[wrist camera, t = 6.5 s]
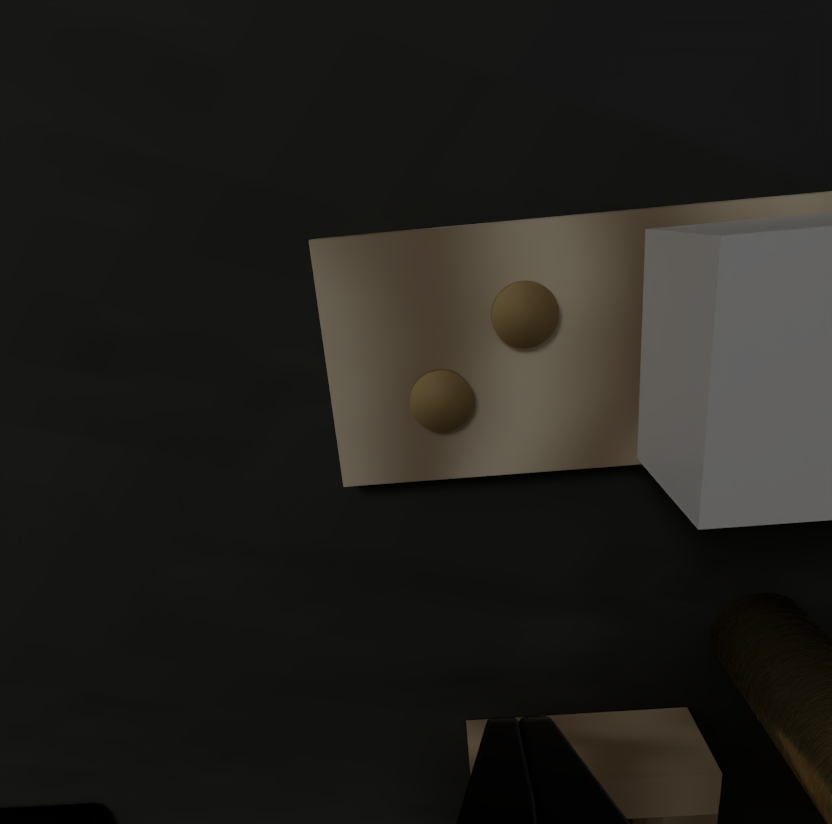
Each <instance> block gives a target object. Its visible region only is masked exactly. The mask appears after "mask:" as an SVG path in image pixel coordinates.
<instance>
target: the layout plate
mask: <svg viewBox="0 0 832 824" xmlns="http://www.w3.org/2000/svg"><path fill="white" fill-rule="evenodd" d="M826 212H832V191H827V192H816V193H806V194H795V195H784V196H773V197H762V198H751V199H740V200H730V201H719V202H708V203H697V204H686V205H675V206H665V207H654V208H643V209H632V210H621V211H610V212H599V213H589V214H578V215H567V216H556V217H545V218H534V219H523V220H513V221H502V222H491V223H480V224H469V225H458V226H448V227H437V228H426V229H415V230H404V231H393V232H382V233H372V234H361V235H350V236H339V237H328V238H317V239H312V240H309V246H310V254H311V261H312V268H313V275H314V282H315V289H316V296H317V303H318V310H319V317H320V324H321V331H322V338H323V345H324V352H325V359H326V366H327V373H328V380H329V388H330V395H331V402H332V409H333V416H334V423H335V430H336V437H337V444H338V451H339V458H340V465H341V472H342V479H343V486H344V487H348V486H362V485H375V484H388V483H401V482H414V481H427V480H441V479H454V478H467V477H480V476H493V475H507V474H520V473H533V472H546V471H559V470H572V469H586V468H599V467H612V466H625V465H638V464H641V462H640V461H639V460H638V459H637V449H638V422H639V394H640V366H641V339H642V311H643V283H644V256H645V229H650V228H661V227H672V226H683V225H694V224H705V223H716V222H727V221H738V220H749V219H760V218H771V217H782V216H793V215H804V214H815V213H826Z"/></svg>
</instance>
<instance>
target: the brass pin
mask: <svg viewBox="0 0 832 824" xmlns="http://www.w3.org/2000/svg"><path fill="white" fill-rule="evenodd" d="M711 646H712V649H713V651H714V653H715V654H716V656H717V657H718V659H719V660H720V662H721V663H722V665H723V667H724V668H725V670H726V671H727V673H728V674H729V676H730V677H731V679H732V680H733V682H734V683H735V685H736V686H737V688H738V689H739V691H740V692H741V694H742V695H743V697H744V698H745V700H746V701H747V703H748V705H749V706H750V708H751V709H752V711H753V712H754V714H755V715H756V717H757V718H758V720H759V721H760V723H761V724H762V726H763V727H764V729H765V730H766V732H767V733H768V735H769V736H770V738H771V739H772V741H773V743H774V744H775V746H776V747H777V749H778V750H779V752H780V753H781V755H782V756H783V758H784V759H785V761H786V762H787V764H788V765H789V767H790V768H791V770H792V771H793V773H794V774H795V776H796V777H797V779H798V781H799V782H800V784H801V785H802V787H803V788H804V790H805V791H806V793H807V794H808V796H809V797H810V799H811V800H812V802H813V803H814V805H815V806H816V808H817V809H818V811H819V812H820V814H821V815H822V817H823V819H824V820H825V822H826V823H827V824H832V641H831V639H830V638H829V637H828V636H827V635H826V634H825V633H824V632H823V631H822V630H821V629H820V628H819V627H818V626H817V625H816V624H815V623H814V622H813V620H812V619H811V618H810V617H809V616H808V615H807V614H806V613H805V612H804V611H803V610H802V609H801V608H800V607H799V606H798V605H797V604H796V603H795V602H794V601H793V600H791V599H789V598H787V597H785V596H782V595H779V594H774V593H759V594H753V595H749V596H746V597H743V598H741V599H739V600H737V601H735V602H734V603H732V604H731V605H729V606H728V607H727V608H726V609H724V610H723V611H722V612H721V614H720V615H719V616H718V617H717V619H716V620H715V623H714V625H713V627H712V630H711Z"/></svg>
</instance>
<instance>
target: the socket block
mask: <svg viewBox="0 0 832 824" xmlns="http://www.w3.org/2000/svg"><path fill="white" fill-rule="evenodd" d="M547 717H549V718H551V719H552V720H553V721H554V723H555V724H556V725H557V727H558V728H559V729H560V731H561V732H562V733H563V735H564V736H565V737H566V739H567V740H568V741H569V743H570V744H571V745H572V747H573V748H574V749H575V751H576V752H577V753H578V755H579V756H580V757H581V759H582V760H583V761H584V763H585V764H586V765H587V767H588V768H589V769H590V771H591V772H592V773H593V775H594V776H595V777H596V779H597V780H598V781H599V783H600V784H601V785H602V787H603V788H604V789H605V791H606V792H607V793H608V795H609V796H610V797H611V799H612V800H613V801H614V803H615V804H616V805H617V807H618V808H619V809H620V811H621V812H622V813H623V815H624V816H625V817H626V819H633V824H717V820H718V810H719V801H720V792H721V782H722V772H721V770H720V768H719V767H718V765H717V763H716V761H715V759H714V757H713V755H712V753H711V751H710V750H709V748H708V746H707V744H706V742H705V740H704V738H703V736H702V735H701V733H700V731H699V729H698V727H697V725H696V723H695V721H694V719H693V718H692V716H691V714H690V712H689V710H688V708H687V707H683V708H666V709H649V710H633V711H616V712H600V713H583V714H566V715H550V716H547ZM521 718H522V717H517V718H516V719H517V720H518V722H519V720H520V719H521ZM488 720H489V719H483V720H467V721H466V724H467V737H468V750H469V763H470V775H471V773H472V769H473V766H474V763H475V759H476V756H477V752H478V749H479V746H480V742H481V739H482V735H483V732H484V728H485V725H486V722H487V721H488Z"/></svg>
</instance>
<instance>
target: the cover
mask: <svg viewBox="0 0 832 824" xmlns="http://www.w3.org/2000/svg"><path fill="white" fill-rule="evenodd" d="M637 459H638V460H639V461H640V462H641V464H642V465H643V466H644V467H645V468H646V469H647V471H648V472H649V473H650V474H651V475H652V476H653V477H654V479H655V480H656V481H657V482H658V483H659V484H660V486H661V487H662V488H663V489H664V490H665V491H666V493H667V494H668V495H669V496H670V497H671V498H672V500H673V501H674V502H675V503H676V504H677V505H678V507H679V508H680V509H681V510H682V511H683V512H684V514H685V515H686V516H687V517H688V518H689V519H690V521H691V522H692V523H693V524H694V525H695V526H696V528H697V529H698V530H701V529H715V528H729V527H743V526H757V525H771V524H785V523H799V522H813V521H827V520H832V212H826V213H815V214H804V215H793V216H782V217H771V218H760V219H749V220H738V221H727V222H716V223H705V224H694V225H683V226H672V227H661V228H650V229H645V256H644V283H643V311H642V339H641V366H640V394H639V422H638V449H637Z"/></svg>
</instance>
